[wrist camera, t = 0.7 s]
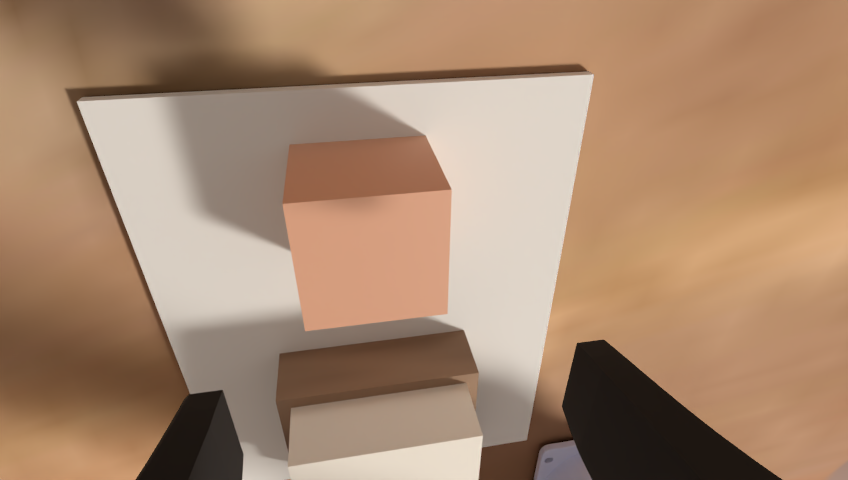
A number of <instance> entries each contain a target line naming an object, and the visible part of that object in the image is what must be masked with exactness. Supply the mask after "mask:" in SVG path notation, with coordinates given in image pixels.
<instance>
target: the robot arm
mask: <svg viewBox="0 0 848 480" xmlns="http://www.w3.org/2000/svg"><path fill="white" fill-rule="evenodd" d="M562 408H563V411H564V414H565V417H566V420H567V422H568V425H569V428H570V431H571V434H572V436H573V439H574V440H571V441H565V442H559V443H553V444H548V445H545V446H543V447H542V448H541V449H540V451H539V456H538V461H537V465H536V470H535V475H534V480H782V479H781V478H779V477H778V476H776V475H775V474H773V473H772V472H770V471H769V470H768V469H766V468H765V467H763V466H762V465H760V464H759V463H758V462H756V461H755V460H753V459H752V458H751V457H749V456H748V455H747V454H745V453H744V452H743V451H741V450H740V449H738V448H737V447H736V446H734V445H733V444H732V443H730V442H729V441H728V440H726V439H725V438H724V437H722V436H721V435H720V434H718V433H717V432H716V431H714V430H713V429H712V428H711V427H709V426H708V425H707V424H705V423H704V422H703V421H702V420H700V419H699V418H698V417H696V416H695V415H694V414H693V413H691V412H690V411H689V410H688V409H686V408H685V407H684V406H683V405H682V404H680V403H679V402H678V401H677V400H675V399H674V398H673V397H672V396H671V395H669V394H668V393H667V392H666V391H664V390H663V389H662V388H661V387H660V386H658V385H657V384H656V383H655V382H654V381H653V380H651V379H650V378H649V377H648V376H647V375H645V374H644V373H643V372H642V371H641V370H639V369H638V368H637V367H636V366H635V365H634V364H632V363H631V362H630V361H629V360H628V359H627V358H625V357H624V356H623V355H622V354H621V353H619V352H618V351H617V350H616V349H615V348H613V347H612V346H611V345H610V344H609V343H607V342H606V341H605V340H598V341H590V342H582V343H577V346H576V350H575V354H574V358H573V362H572V366H571V371H570V375H569V379H568V383H567V387H566V391H565V396H564V400H563V404H562ZM243 457H244V454H243V451H242V448H241V445H240V442H239V439H238V436H237V432H236V429H235V426H234V423H233V420H232V417H231V414H230V411H229V408H228V405H227V401H226V398H225V395H224V392H223V390H218V391H210V392H203V393H195V394H189V395H188V396H187V397H186V398H185V399H184V401H183V403H182V404H181V406H180V408H179V410H178V411H177V413H176V415H175V416H174V418H173V420H172V422H171V423H170V425H169V427H168V428H167V430H166V432H165V433H164V435H163V437H162V438H161V440H160V442H159V443H158V445H157V447H156V448H155V450H154V452H153V453H152V455H151V456H150V458H149V460H148V461H147V463H146V464H145V466H144V468H143V469H142V471H141V472H140V474H139V475H138V477H137V479H136V480H242V474H243Z"/></svg>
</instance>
